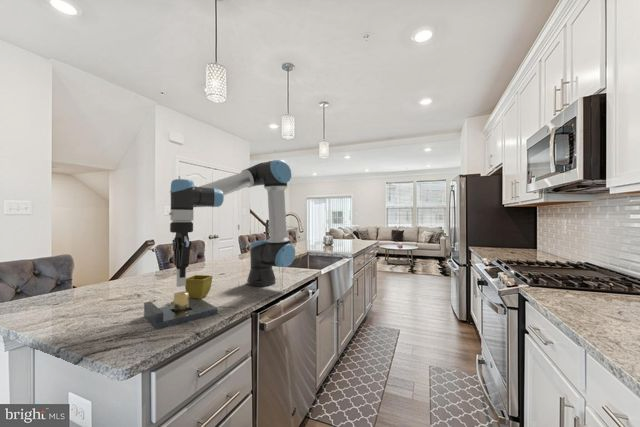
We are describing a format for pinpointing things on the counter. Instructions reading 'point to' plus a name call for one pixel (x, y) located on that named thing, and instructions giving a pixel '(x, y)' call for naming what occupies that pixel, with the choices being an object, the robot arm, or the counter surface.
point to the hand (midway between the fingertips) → (181, 285)
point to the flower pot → (198, 286)
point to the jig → (168, 317)
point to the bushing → (181, 302)
